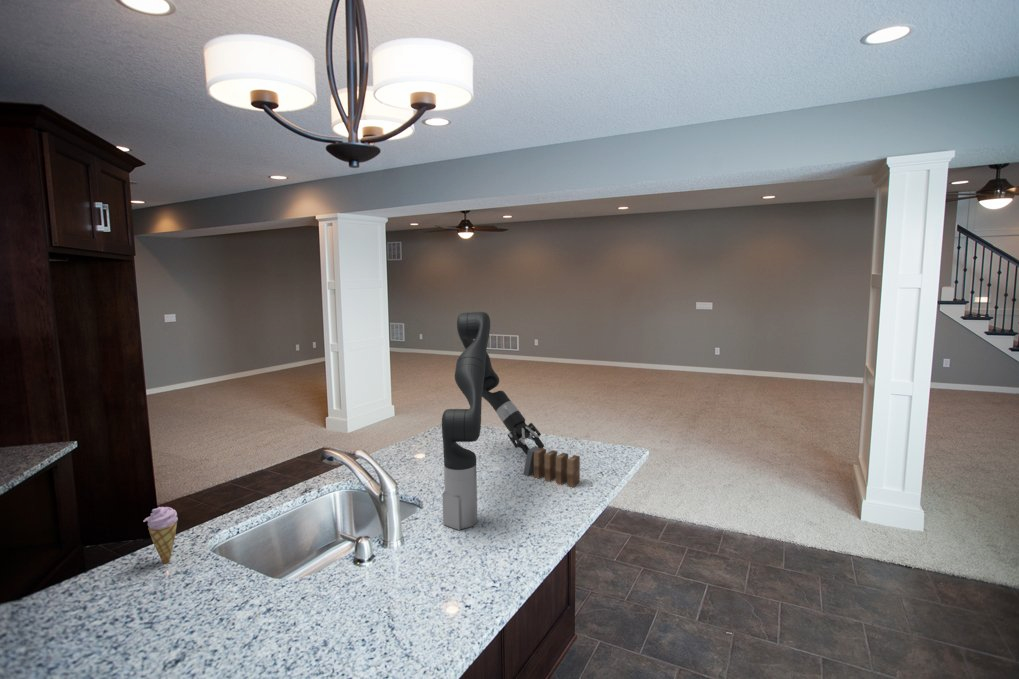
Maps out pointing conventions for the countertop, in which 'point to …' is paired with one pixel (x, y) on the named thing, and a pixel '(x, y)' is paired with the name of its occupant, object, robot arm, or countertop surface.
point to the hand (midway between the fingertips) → (536, 451)
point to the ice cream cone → (163, 530)
